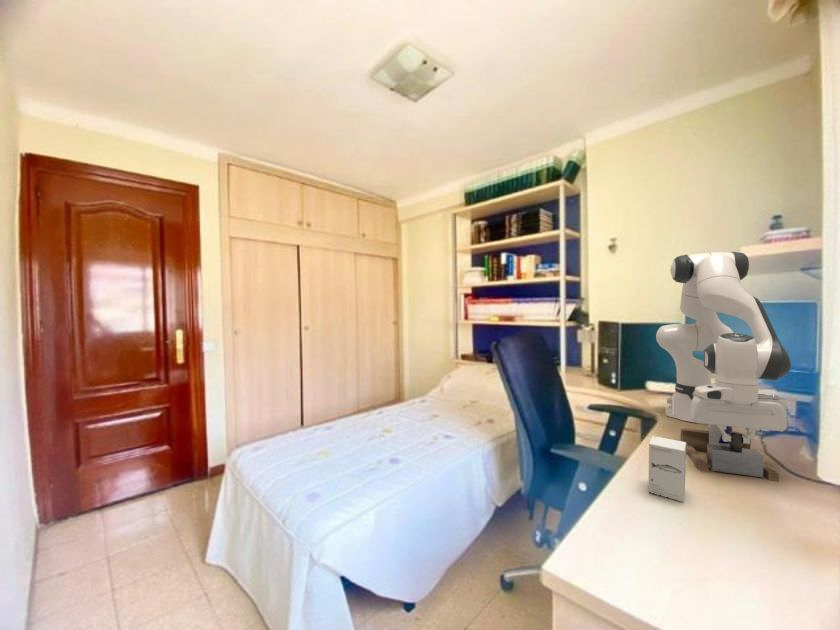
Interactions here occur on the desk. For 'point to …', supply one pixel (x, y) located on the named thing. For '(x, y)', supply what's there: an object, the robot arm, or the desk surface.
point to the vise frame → (698, 443)
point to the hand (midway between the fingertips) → (735, 442)
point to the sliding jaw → (735, 458)
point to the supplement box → (667, 467)
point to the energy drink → (718, 435)
